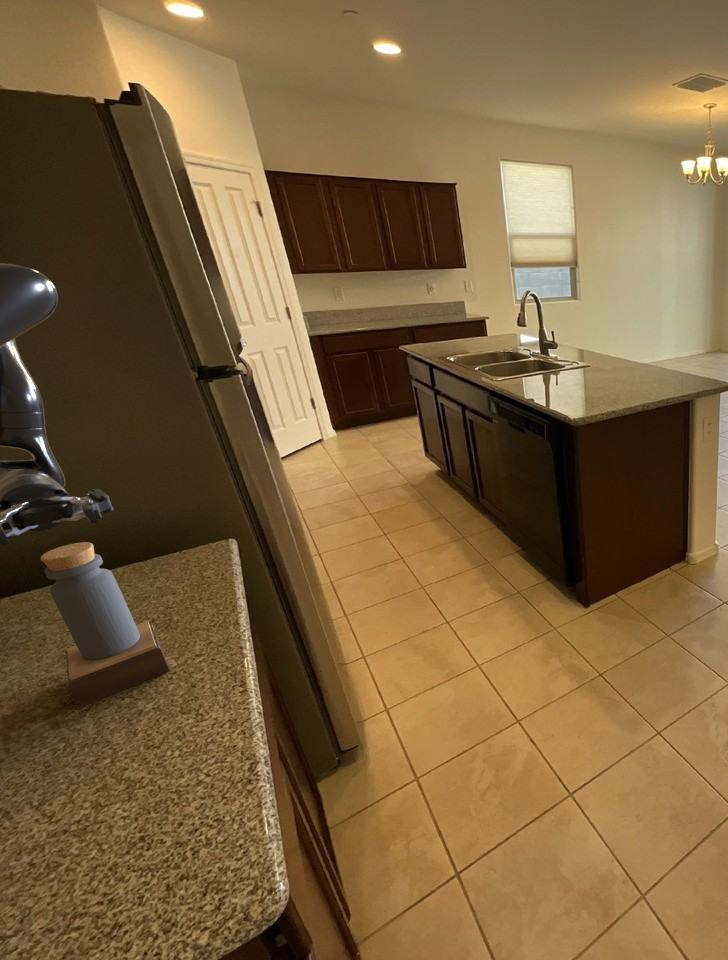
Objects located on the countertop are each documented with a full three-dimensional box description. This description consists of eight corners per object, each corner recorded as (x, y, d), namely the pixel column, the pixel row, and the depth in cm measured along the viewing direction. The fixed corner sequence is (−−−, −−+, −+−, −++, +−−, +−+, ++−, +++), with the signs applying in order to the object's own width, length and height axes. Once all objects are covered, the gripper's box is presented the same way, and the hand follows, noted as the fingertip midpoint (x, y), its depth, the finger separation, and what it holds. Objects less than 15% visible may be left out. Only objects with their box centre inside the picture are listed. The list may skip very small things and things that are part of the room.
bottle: (71, 656, 70) (21, 558, 64) (123, 629, 75) (80, 537, 70) (100, 664, 68) (51, 565, 63) (151, 636, 73) (109, 542, 68)
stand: (77, 674, 73) (63, 648, 71) (160, 643, 79) (150, 618, 78) (80, 707, 67) (65, 680, 66) (170, 670, 73) (158, 645, 72)
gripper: (-51, 492, 75) (-45, 520, 65) (87, 466, 85) (109, 486, 76) (-27, 539, 77) (-17, 572, 68) (104, 508, 88) (128, 532, 79)
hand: (49, 527), depth 72 cm, fingers open, 8 cm apart
